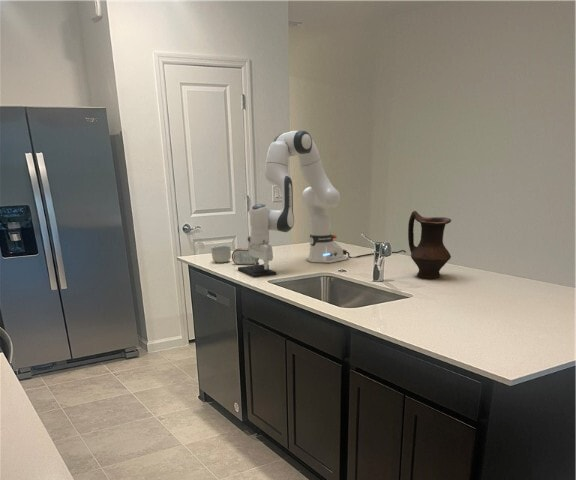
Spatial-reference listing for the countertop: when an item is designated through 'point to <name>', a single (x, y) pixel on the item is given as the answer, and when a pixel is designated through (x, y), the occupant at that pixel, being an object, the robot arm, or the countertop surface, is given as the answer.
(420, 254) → the jug
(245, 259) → the tin
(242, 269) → the base pad
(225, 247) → the teacup
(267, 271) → the loose pad
